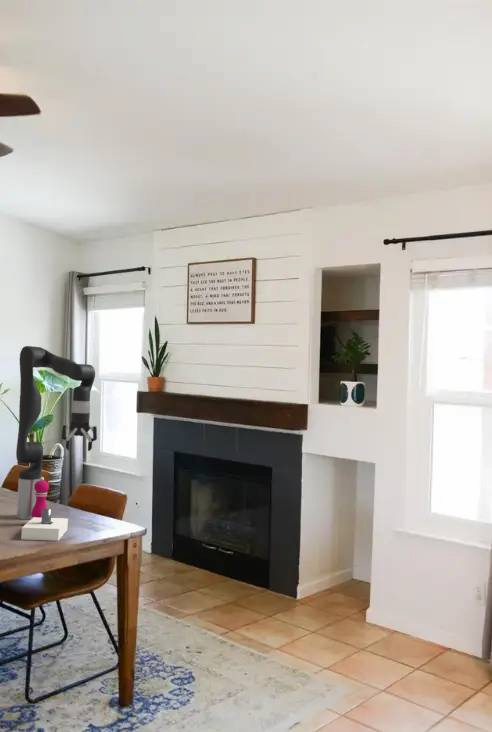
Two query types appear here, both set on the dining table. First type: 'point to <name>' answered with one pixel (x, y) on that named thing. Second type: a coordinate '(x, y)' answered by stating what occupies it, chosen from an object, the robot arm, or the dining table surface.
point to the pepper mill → (40, 497)
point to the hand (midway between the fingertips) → (78, 450)
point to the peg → (46, 516)
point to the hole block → (44, 529)
